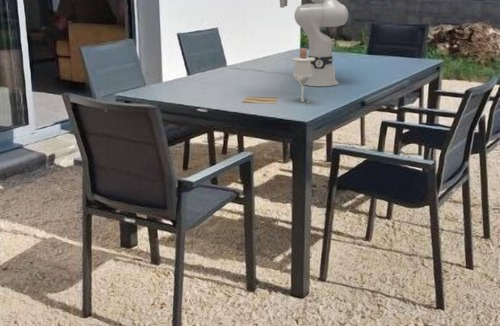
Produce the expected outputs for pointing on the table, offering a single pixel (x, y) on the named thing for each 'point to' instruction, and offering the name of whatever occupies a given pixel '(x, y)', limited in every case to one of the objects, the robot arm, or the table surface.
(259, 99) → the mat
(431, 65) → the table surface
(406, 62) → the table surface
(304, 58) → the lid
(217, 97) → the table surface
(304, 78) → the wineglass
